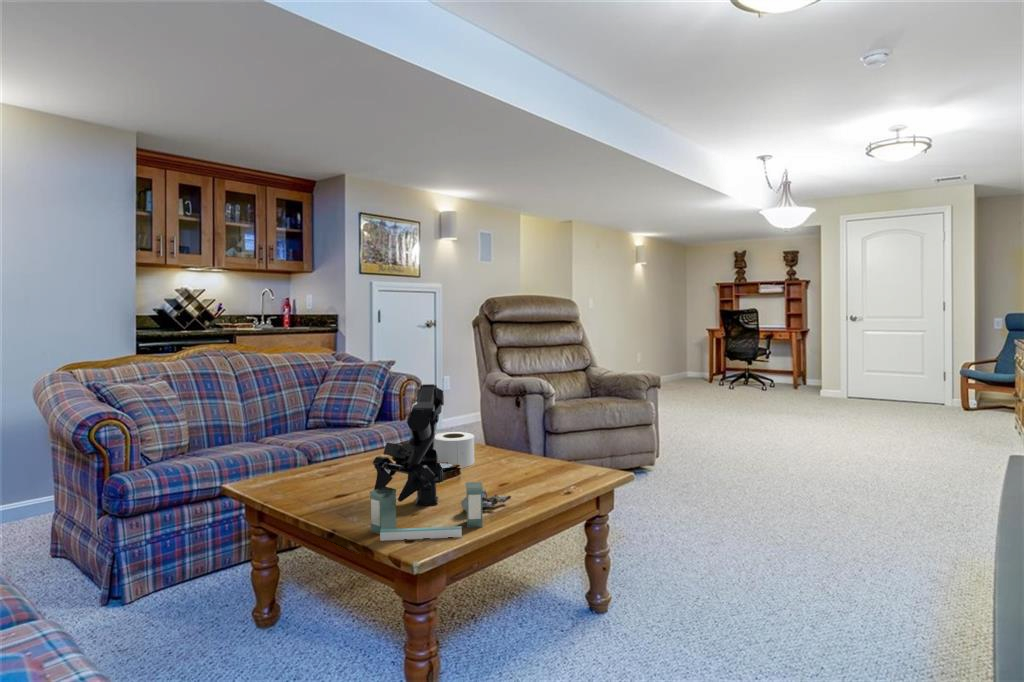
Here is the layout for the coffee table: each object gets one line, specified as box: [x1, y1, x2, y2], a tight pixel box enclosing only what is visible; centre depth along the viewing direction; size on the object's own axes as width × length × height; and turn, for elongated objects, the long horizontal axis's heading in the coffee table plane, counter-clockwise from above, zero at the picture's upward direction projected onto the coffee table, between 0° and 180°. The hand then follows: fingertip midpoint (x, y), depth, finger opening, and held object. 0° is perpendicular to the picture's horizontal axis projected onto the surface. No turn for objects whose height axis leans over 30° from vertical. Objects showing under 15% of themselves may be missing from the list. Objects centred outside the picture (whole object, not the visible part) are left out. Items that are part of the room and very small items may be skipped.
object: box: [434, 431, 475, 468], centre depth 218 cm, size 16×15×11 cm
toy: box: [460, 490, 512, 512], centre depth 167 cm, size 7×11×15 cm
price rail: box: [379, 525, 463, 542], centre depth 144 cm, size 1×20×2 cm, turn 96°
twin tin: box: [465, 481, 483, 529], centre depth 154 cm, size 5×4×10 cm
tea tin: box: [369, 486, 397, 535], centre depth 149 cm, size 5×4×10 cm
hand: (386, 497), depth 150 cm, fingers open, 9 cm apart
